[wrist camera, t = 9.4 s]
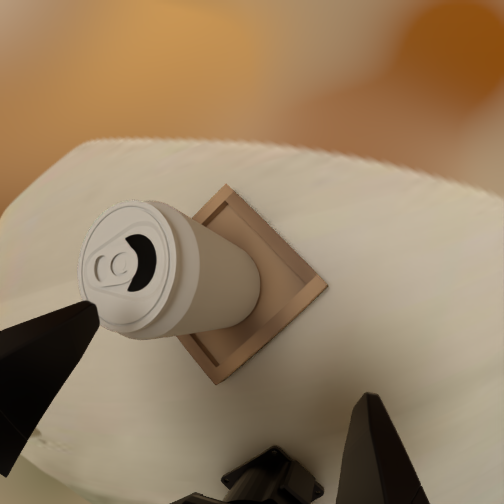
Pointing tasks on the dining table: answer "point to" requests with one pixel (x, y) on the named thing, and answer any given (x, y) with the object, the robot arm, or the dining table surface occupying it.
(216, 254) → the beverage can
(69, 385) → the dining table surface
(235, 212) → the tray
